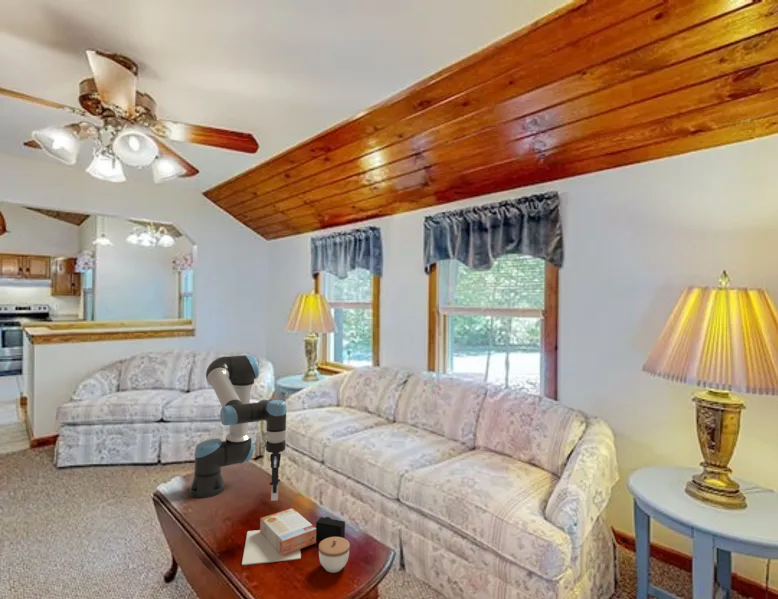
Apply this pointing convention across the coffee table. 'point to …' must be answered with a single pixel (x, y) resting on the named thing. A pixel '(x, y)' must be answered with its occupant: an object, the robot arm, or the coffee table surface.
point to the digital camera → (329, 528)
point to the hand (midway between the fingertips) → (274, 499)
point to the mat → (263, 550)
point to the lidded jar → (334, 553)
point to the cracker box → (287, 531)
